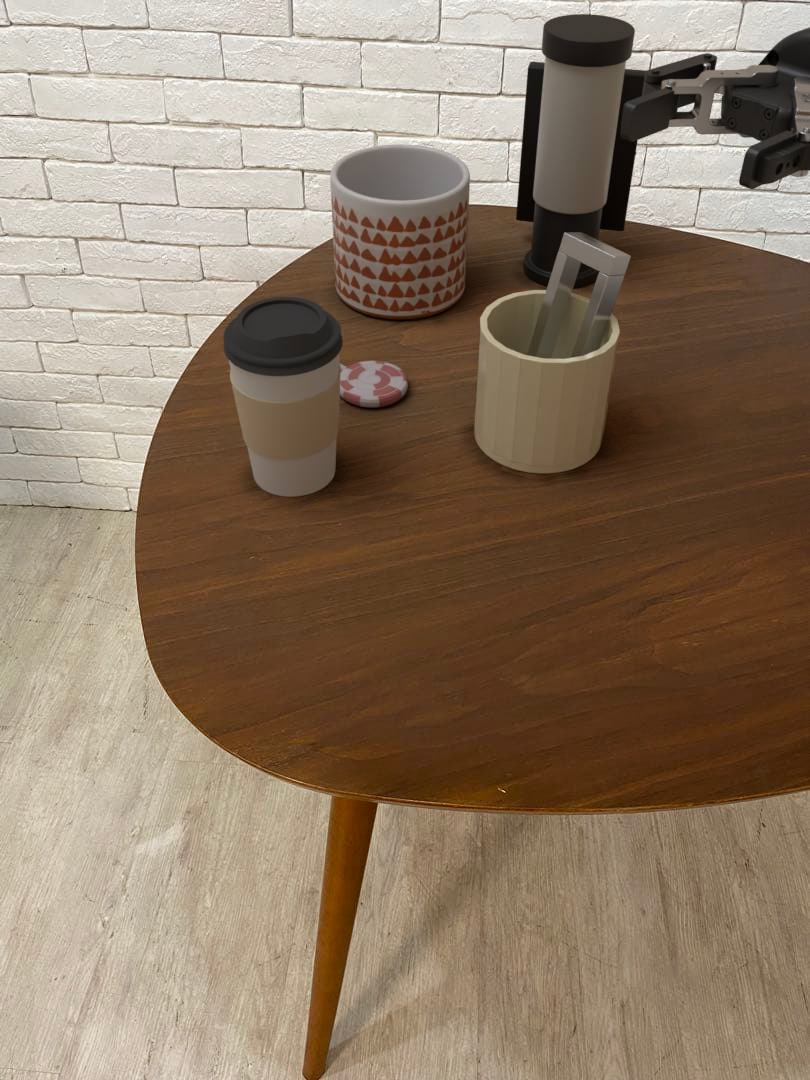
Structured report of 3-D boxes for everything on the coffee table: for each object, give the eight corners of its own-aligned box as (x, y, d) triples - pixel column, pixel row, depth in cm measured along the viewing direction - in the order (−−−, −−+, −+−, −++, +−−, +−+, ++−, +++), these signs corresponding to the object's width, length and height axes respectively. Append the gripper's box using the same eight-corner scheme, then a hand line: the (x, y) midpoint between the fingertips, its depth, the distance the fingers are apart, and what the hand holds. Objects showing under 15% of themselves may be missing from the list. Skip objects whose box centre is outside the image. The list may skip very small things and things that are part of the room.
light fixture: (500, 282, 112) (518, 36, 95) (515, 236, 120) (534, 2, 103) (614, 295, 110) (652, 46, 93) (621, 247, 118) (658, 10, 101)
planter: (334, 323, 106) (328, 202, 97) (336, 258, 116) (331, 144, 107) (469, 321, 106) (475, 200, 98) (460, 256, 116) (464, 142, 108)
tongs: (502, 406, 93) (556, 229, 84) (521, 403, 94) (575, 228, 86) (559, 442, 89) (620, 260, 81) (577, 438, 91) (639, 259, 82)
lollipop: (308, 320, 104) (422, 376, 97) (308, 329, 105) (422, 386, 97) (258, 347, 100) (373, 408, 93) (260, 356, 101) (374, 417, 94)
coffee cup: (231, 449, 91) (210, 293, 80) (333, 430, 93) (324, 276, 82) (252, 515, 84) (231, 355, 74) (360, 493, 86) (355, 335, 76)
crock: (613, 411, 95) (631, 303, 87) (586, 485, 87) (603, 373, 80) (493, 387, 98) (501, 280, 90) (457, 457, 90) (462, 346, 82)
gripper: (765, -9, 68) (597, 43, 60) (974, 46, 60) (811, 115, 52) (740, 108, 73) (582, 170, 65) (929, 173, 65) (775, 253, 58)
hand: (684, 145), depth 59 cm, fingers open, 8 cm apart
